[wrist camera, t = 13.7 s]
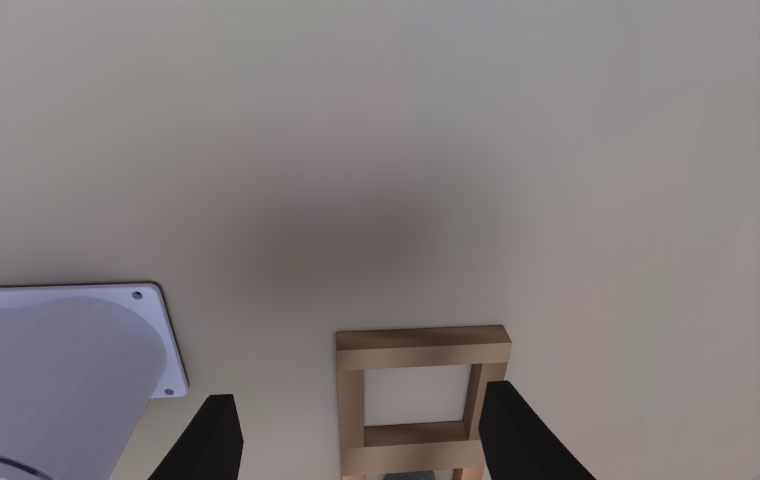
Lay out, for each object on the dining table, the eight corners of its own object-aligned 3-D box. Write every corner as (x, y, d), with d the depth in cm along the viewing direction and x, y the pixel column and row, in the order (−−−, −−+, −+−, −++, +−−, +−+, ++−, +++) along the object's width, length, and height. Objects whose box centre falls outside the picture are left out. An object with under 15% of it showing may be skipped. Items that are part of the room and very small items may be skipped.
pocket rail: (345, 521, 33) (345, 541, 32) (336, 332, 23) (336, 350, 22) (464, 511, 34) (469, 531, 32) (502, 325, 24) (512, 342, 23)
